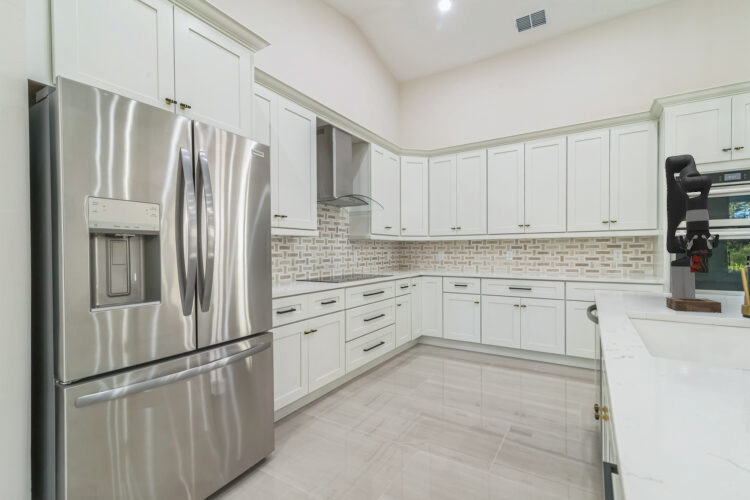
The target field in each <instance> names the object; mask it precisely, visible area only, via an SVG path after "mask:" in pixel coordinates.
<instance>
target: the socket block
mask: <svg viewBox="0 0 750 500" xmlns="http://www.w3.org/2000/svg"><path fill="white" fill-rule="evenodd" d="M665 301H666V303H665V304H666V307H667V308H669V309H671V310H674V311H676V312H694V311H695V313H698V312H699V313H700V312H701V313H716V312H717V314H719V313H722V302H721V301H720V302H719V301H716V300H712V299H710V298H696V297H695V298H672V297H666V298H665Z"/></svg>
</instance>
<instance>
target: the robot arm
mask: <svg viewBox="0 0 750 500" xmlns="http://www.w3.org/2000/svg"><path fill="white" fill-rule="evenodd" d="M664 162H665V164H664V169H665V182H666V218H667V219H666V220H667V221H666V222H667V227H666V228H667V229H666V251H667V253H668V254H684V255H683V256H682V257H680V258H677V259H674V260H672V261H670V278H671V279H670V280H671V298H695V299H696V280H695V279H696V278H695V277H696V273H691V272H690V258H691V250H690V248H691V246H692V245H693V239H707V246H708V259H711V257H712V256H713V249H716V248H718V247H719V241H720V234H719V233H717V234H712V233H711V232H710V216H709V215H710V214H709V210H708V198H709V194H710V192H711V188H712V185H713V180H712V178H711V177H710V176H709V175H702V174H701V173H700V172H699V170H698V169H697V164H696V161H695V158H694V157H693V155H692V154H680V155H679V154H678V155H671V156H667V157H666V159H665V161H664ZM675 174H678V176H679V177H678V178H679V180H680V181H681V182H680V184H679V183H678V182H677V179H676V177H675ZM690 193H691V194H692V193H700V194H699V195H697V196H694V197H690V196H689V194H690ZM684 219H685V227H686V231H685V235H682V234H681V235H677V236H676V233H677V230H678V228H679V226H680V224H682V222H683V221H684ZM710 237H711V239H712V243H711V242H710V241H709V240H708V239H709V238H710ZM691 239H692V240H691ZM689 240H691V242H690V243H689Z"/></svg>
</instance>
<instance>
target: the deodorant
mask: <svg viewBox="0 0 750 500" xmlns="http://www.w3.org/2000/svg"><path fill="white" fill-rule="evenodd" d="M691 240H692V239H691ZM691 240H689V243H690V242H691ZM690 250H691V258H690V272H691V273H695V274H696V273H697V274H699V273H700V274H701V273H703V274H709V258H708V246H707V239H693V245H692V246H691V248H690Z"/></svg>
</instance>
